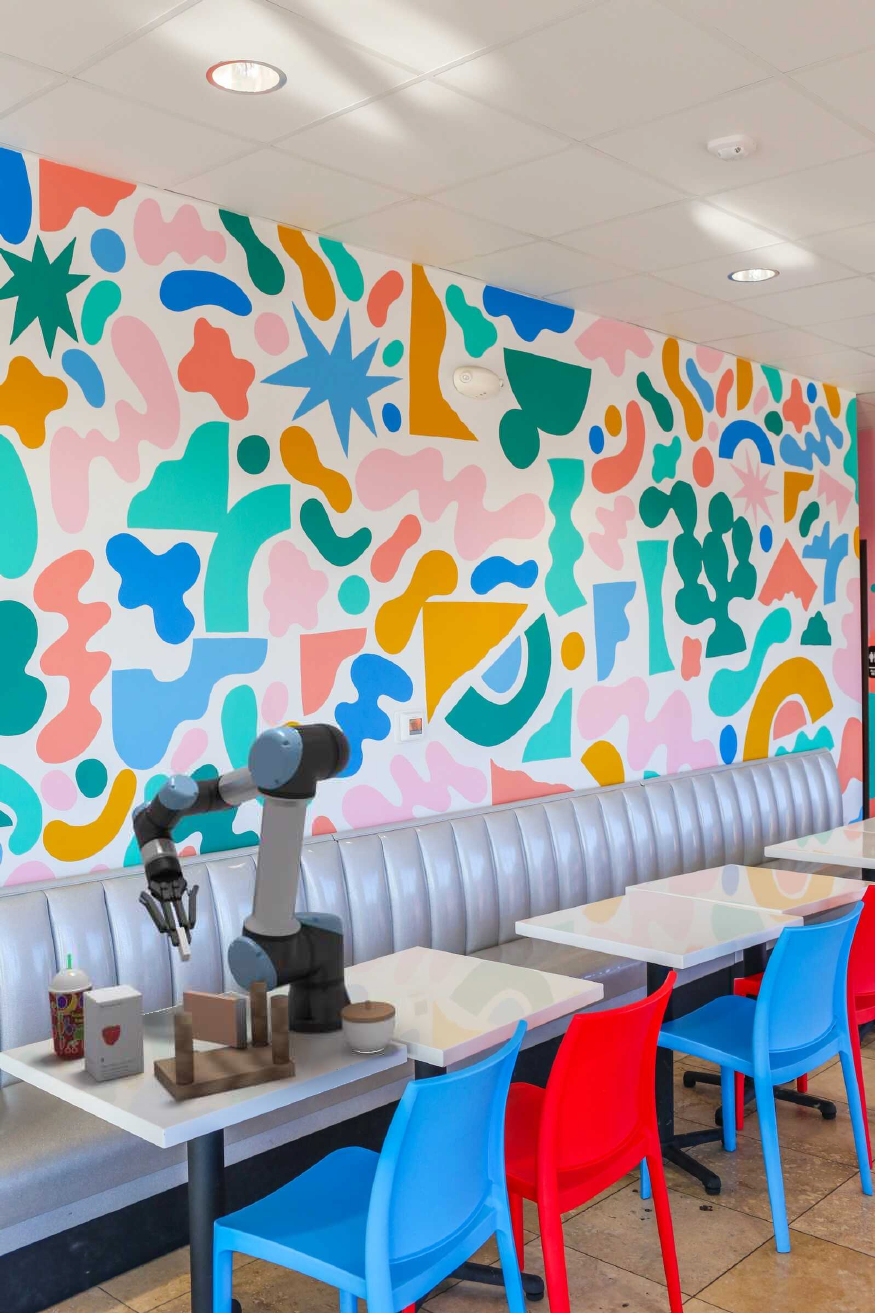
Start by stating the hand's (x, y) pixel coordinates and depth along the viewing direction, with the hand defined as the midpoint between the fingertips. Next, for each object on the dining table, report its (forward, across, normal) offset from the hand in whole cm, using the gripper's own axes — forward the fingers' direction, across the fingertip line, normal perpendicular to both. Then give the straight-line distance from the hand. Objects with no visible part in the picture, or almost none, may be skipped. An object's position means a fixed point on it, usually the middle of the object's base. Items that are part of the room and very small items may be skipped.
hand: (186, 958), depth 239 cm
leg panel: (+19, -2, -1) cm, 19 cm away
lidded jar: (+30, -29, +7) cm, 42 cm away
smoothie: (+9, +22, -15) cm, 28 cm away
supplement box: (+19, +17, -5) cm, 26 cm away
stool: (+29, 0, +5) cm, 29 cm away
